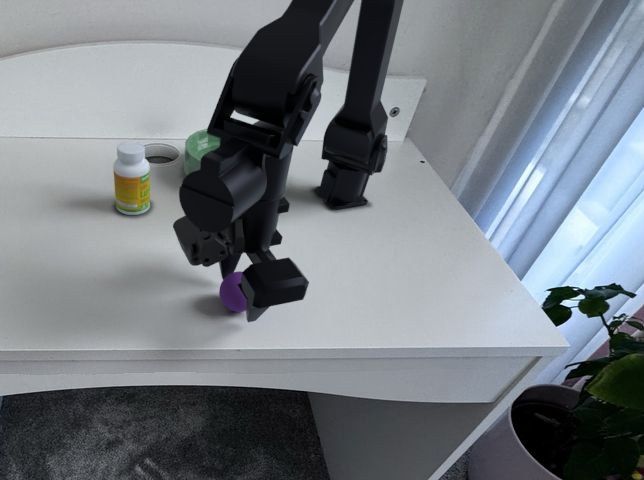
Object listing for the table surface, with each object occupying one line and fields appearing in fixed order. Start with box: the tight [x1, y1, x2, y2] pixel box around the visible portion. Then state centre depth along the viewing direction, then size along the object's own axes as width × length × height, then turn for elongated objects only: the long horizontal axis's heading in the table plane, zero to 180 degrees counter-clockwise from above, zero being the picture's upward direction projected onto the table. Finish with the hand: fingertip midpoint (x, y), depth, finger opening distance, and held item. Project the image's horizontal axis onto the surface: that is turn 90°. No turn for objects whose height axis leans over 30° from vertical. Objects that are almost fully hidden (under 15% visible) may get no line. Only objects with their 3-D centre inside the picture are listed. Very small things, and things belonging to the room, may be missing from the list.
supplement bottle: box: [113, 140, 151, 216], centre depth 76 cm, size 5×5×10 cm
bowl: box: [183, 128, 220, 177], centre depth 85 cm, size 14×14×5 cm
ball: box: [218, 271, 247, 313], centre depth 63 cm, size 5×5×5 cm
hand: (238, 298), depth 63 cm, fingers open, 8 cm apart
